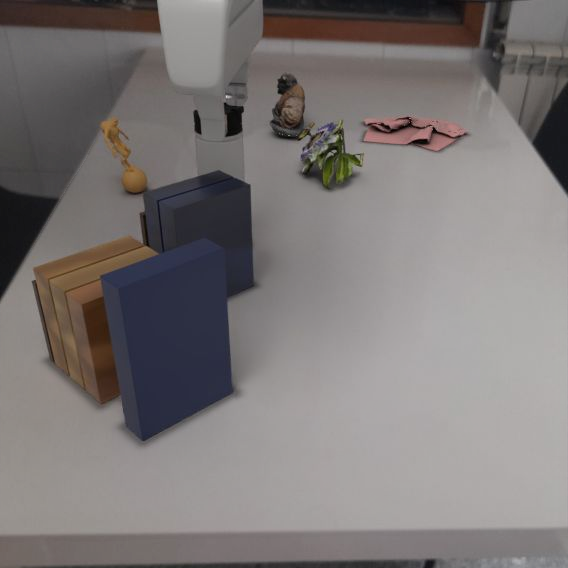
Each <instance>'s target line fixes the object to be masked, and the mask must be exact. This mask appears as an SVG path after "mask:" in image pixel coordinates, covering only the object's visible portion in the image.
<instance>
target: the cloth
mask: <svg viewBox="0 0 568 568" xmlns="http://www.w3.org/2000/svg"><path fill="white" fill-rule="evenodd" d="M404 116H405V117H403V116H398V117H399V118H394V117H395V116H392V117H393V118H390V117H391V116H390V117H388V118H384V119H371V118H366V119H363V120H364V121H363V122H364V123H365V126H367V125H368V126H369V127H368V129H367V130H366V133H365V136H364V137H363V142H368V143H369V142H370V143H378V144H390V145H391V144H392V145H408V144H410V145H414V146H418V147H421V148H424V149H427V150H431V151H434V152H439V151H441V150H442V149H444V148H446V147H447V146H449V145H451V144H452V143H454V142H455V141H457V140H459V136H463V135H467V134H468V131H467V129H465V128H464V127H462V126H461V125H459V124H457V125H456V123H454V122H450V121H447V120H441V119H435V118H425V117H420V119H419V120H418V121H416V120H417V119H418V117H419V116H413V115H412V116H411V115H404ZM409 118H411V119H409ZM411 121H412V122H411ZM414 121H416V122H414ZM432 121H434V122H432ZM436 121H438V123H439V124H440V125H439V126H438V129H437V124H438V123H437V122H436ZM409 122H410V123H409ZM413 122H414V123H413ZM377 123H381V124H377ZM427 123H429V124H427ZM404 125H405V126H404ZM425 125H426V127H425ZM443 125H445V127H444V128H443V129H445V130H447V131H445V130H443V129H442V126H443ZM430 126H433V127H430ZM460 126H461V127H462V128H463V130H461V129H462V128H461V127H460ZM378 127H379V128H378ZM460 128H461V129H460ZM432 129H433V130H432ZM436 129H437V130H436ZM459 129H460V130H459ZM448 131H451V132H448ZM454 132H457V133H454Z"/></svg>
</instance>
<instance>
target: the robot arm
mask: <svg viewBox="0 0 568 568" xmlns="http://www.w3.org/2000/svg"><path fill="white" fill-rule="evenodd" d="M156 4H157V12H158V20H159V26H160V34H161V42H162V48H163V55H164V60H165V61H164V62H165V67H166V71H167V74H168V79H169V81H170V84H171V86H172V88H173V89H174V91H175V93H176V94H178V95H183V96H192V97H193V102H194V104H195V108H196V110H197V111H198V114H199V117H200V119H201V132H202V137H203V139H205V140H206V141H215V142H220V141H222V140H223V139H224V137H225V135H226V134H227V114H225V113H224V102H226V103H227V104H228V105H230V106H244V105H245V104H246V102H247V101H248V99H249V94H248V93H249V91H248V87H249V86H248V81H249V74H250V68H251V67H250V66H251V54H252V52H254V50H255V48H256V47H257V45H258V44H259V42H260V41H261V40H262V38H263V32H264V0H156ZM224 99H225V101H224Z"/></svg>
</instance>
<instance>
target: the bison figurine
mask: <svg viewBox="0 0 568 568" xmlns="http://www.w3.org/2000/svg"><path fill="white" fill-rule="evenodd" d="M276 88H277V95H280V98H279V99H278V100H277V101H276V102H275V105H274V107H273V108H272V109H271V113H272V117H273V118H272V119H271V120H269V126H270V127H271V129H272V130H273V131H274V133H275V134H276V135H278V136H281V137H286V138H296V137H299V135H300V134H301V133H302V132H303V130H304V128H305V119H304V113H305V112H306V111H305V110H306V103H305V100H306V96H305V90H304V88H303V86H302V85H301V84H299V83H298V79H297V78H296V77H295V75H293V74H292V73H288V72H287V71H285V73H282V75H281V76H280V77H279V78H277V84H276ZM276 132H277V133H276ZM279 133H280V134H279ZM282 134H283V135H282ZM288 135H290V136H288ZM296 135H297V136H296Z"/></svg>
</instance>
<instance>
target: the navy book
mask: <svg viewBox="0 0 568 568" xmlns="http://www.w3.org/2000/svg"><path fill="white" fill-rule="evenodd" d="M100 280H101V285H102V291H103V297H104V303H105V308H106V314H107V320H108V326H109V331H110V337H111V343H112V349H113V354H114V360H115V366H116V372H117V377H118V383H119V389H120V395H119V396H120V401H121V405H122V411H123V417H124V423H125V427H126V428H127V429H129V430H130V431H131V432H132V433H133V435H135V436H136V437H138V438H139V439H140V440H141V441H142V442H144V441H145V440H147V439H150V438H151V437H154V436H155V435H157V434H159V433H161V432H162V431H164V430H166V429H168V428H170V427H172V426H173V425H175V424H177V423H179V422H181V421H182V420H184V419H187V418H188V417H190V416H192V415H194V414H196V413H197V412H199V411H201V410H203V409H205V408H207V407H209V406H210V405H212V404H214V403H217V402H218V401H220V400H221V399H223V398H226V397H227V396H229V395H231V394H233V391H234V390H233V375H232V374H233V373H232V359H231V342H230V340H231V339H230V326H229V325H230V324H229V308H228V307H229V306H228V305H229V304H228V297H227V288H226V271H225V254H224V248H222V247H220V246H219V245H217V244H215V243H213V242H211V241H210V240H208V239H206V238H202V239H200V240H197V241H194V242H191V243H189V244H186V245H183V246H180V247H177V248H175V249H172V250H169V251H166V252H164V253H161V254H158V255H155V256H153V257H150V258H147V259H144V260H142V261H139V262H136V263H133V264H131V265H128V266H125V267H122V268H120V269H117V270H114V271H111V272H109V273H106V274H103V275H100Z"/></svg>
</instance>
